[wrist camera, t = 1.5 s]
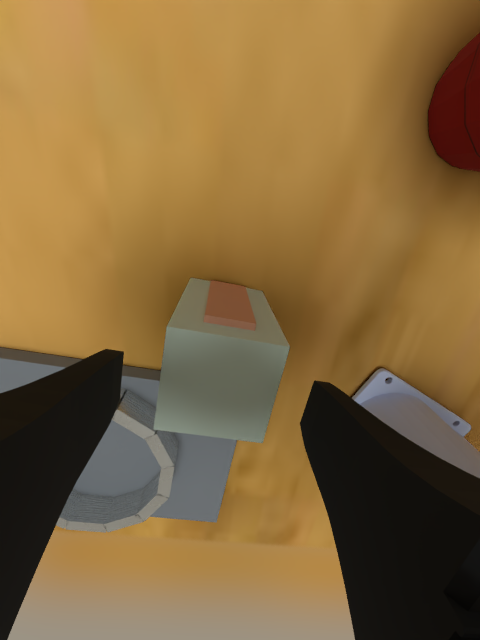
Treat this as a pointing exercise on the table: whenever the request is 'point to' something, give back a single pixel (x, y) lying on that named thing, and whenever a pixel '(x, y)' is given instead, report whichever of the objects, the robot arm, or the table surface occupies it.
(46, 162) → the table surface
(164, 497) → the collar
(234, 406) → the pale green rectangular block
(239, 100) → the table surface
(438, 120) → the plastic cup
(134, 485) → the base board
